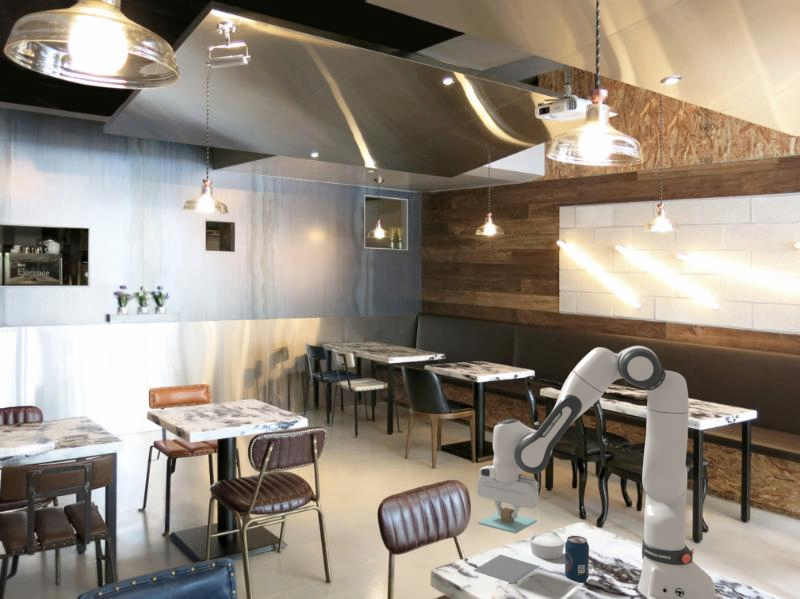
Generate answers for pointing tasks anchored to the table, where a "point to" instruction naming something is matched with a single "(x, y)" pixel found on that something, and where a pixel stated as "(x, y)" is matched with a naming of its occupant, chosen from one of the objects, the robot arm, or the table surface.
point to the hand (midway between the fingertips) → (507, 516)
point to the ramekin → (547, 546)
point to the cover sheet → (507, 526)
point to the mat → (506, 568)
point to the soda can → (577, 558)
